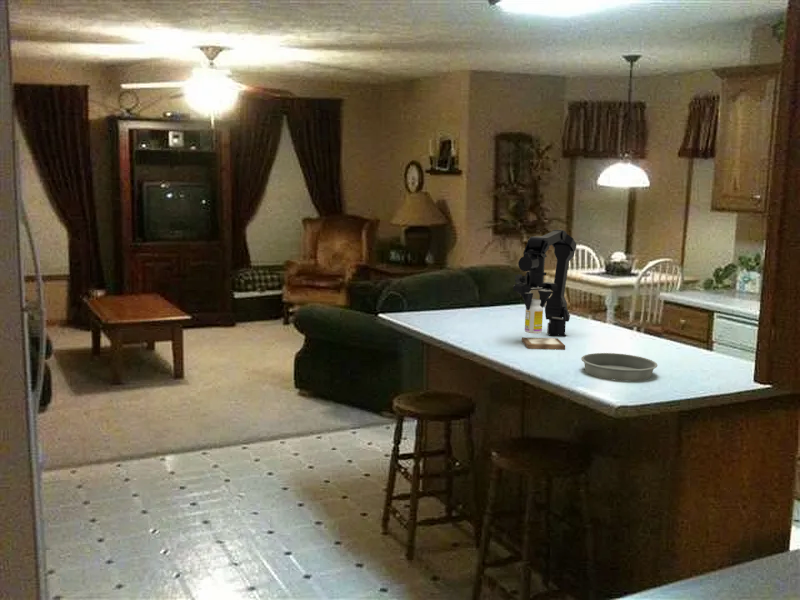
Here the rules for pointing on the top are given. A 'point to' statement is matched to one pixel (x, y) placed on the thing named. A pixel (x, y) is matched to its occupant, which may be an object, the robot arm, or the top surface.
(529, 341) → the brown square tray
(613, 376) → the cake pan
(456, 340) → the top surface
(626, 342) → the top surface
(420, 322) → the top surface
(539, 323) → the supplement bottle
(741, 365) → the top surface
